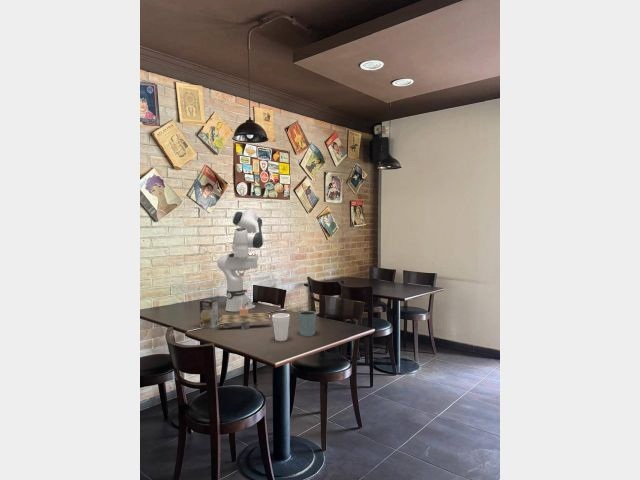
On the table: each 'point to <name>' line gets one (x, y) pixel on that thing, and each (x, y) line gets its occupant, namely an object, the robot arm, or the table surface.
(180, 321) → the table surface
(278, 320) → the foam cup
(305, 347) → the table surface
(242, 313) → the rider
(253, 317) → the beam
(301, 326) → the teal cup
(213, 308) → the coffee box
